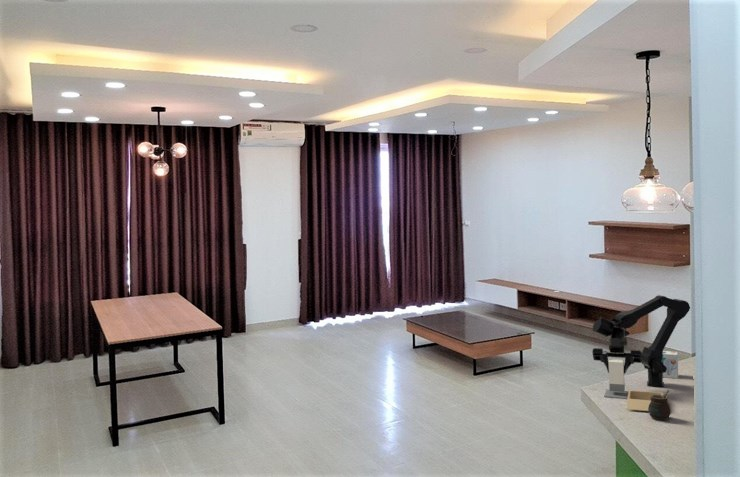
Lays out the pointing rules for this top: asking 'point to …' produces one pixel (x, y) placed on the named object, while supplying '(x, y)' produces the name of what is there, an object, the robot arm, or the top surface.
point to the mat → (616, 394)
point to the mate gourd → (659, 407)
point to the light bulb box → (670, 364)
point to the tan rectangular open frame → (640, 399)
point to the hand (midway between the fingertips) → (616, 373)
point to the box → (616, 375)
